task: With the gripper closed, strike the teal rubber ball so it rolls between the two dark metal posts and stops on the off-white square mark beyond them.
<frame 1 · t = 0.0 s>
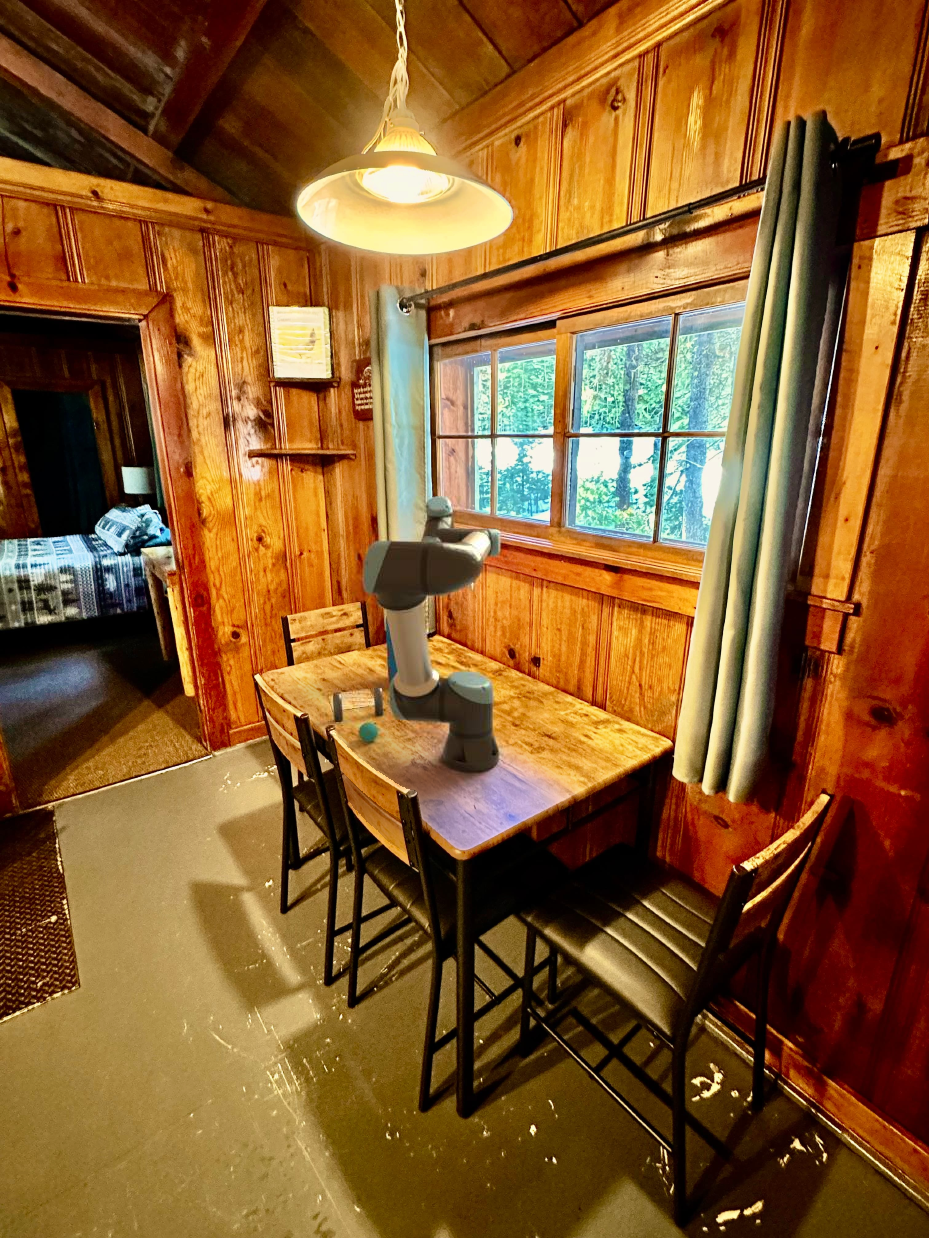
hand: (451, 587, 192), 36 cm above the table, tool tilted 35°, fingers open, 13 cm apart
ball: (368, 732, 163), on the table
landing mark: (351, 700, 191), on the table
post right: (379, 714, 180), on the table
post left: (338, 720, 176), on the table
thermos: (403, 682, 206), on the table
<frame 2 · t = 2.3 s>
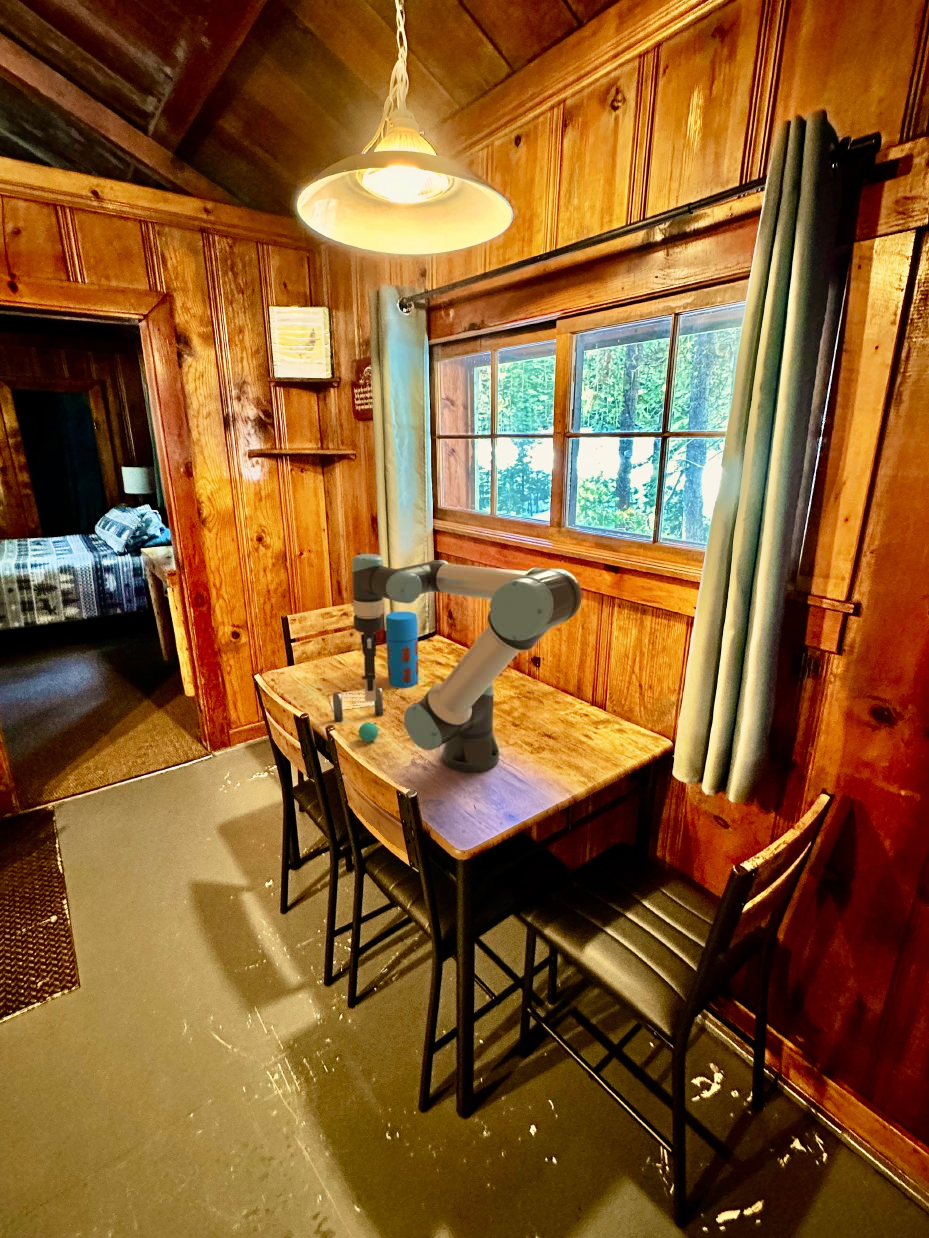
hand: (369, 689, 154), 18 cm above the table, tool pointing down, fingers open, 13 cm apart
nothing on the table moved.
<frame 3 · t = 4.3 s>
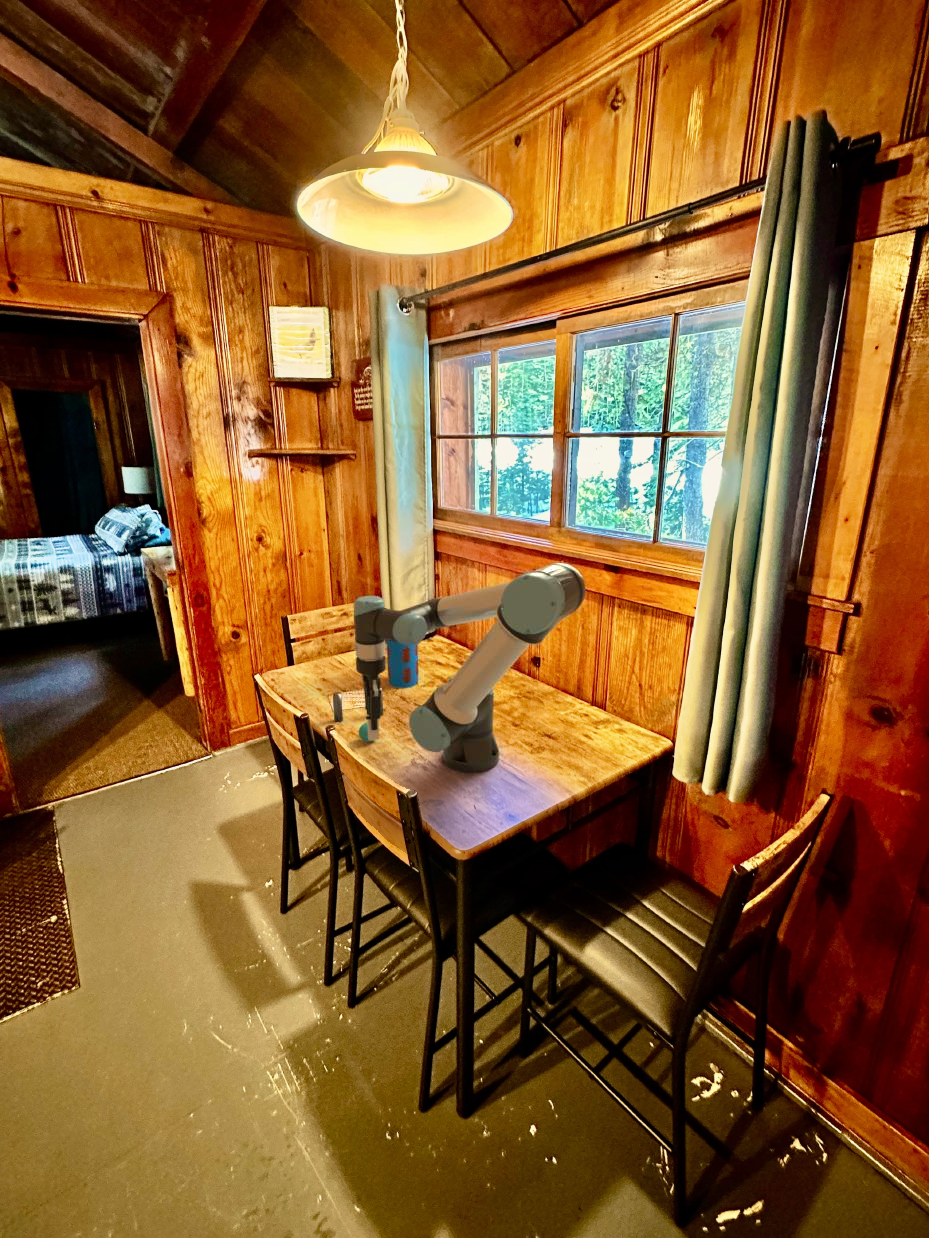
hand: (373, 738, 154), 5 cm above the table, tool pointing down, fingers closed
nothing on the table moved.
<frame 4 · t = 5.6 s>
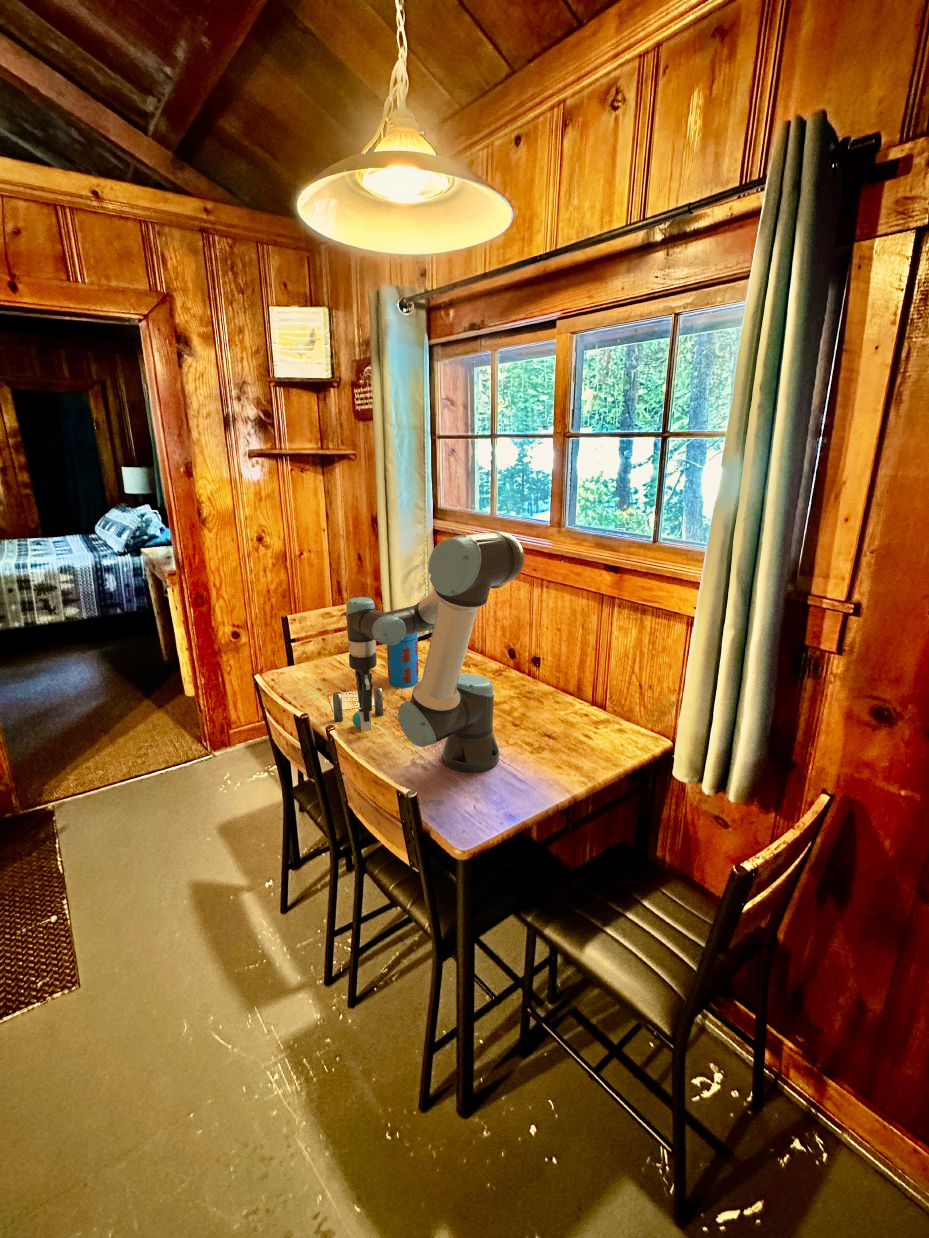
hand: (366, 729, 166), 2 cm above the table, tool pointing down, fingers closed
ball: (361, 719, 171), on the table
everything else where it was.
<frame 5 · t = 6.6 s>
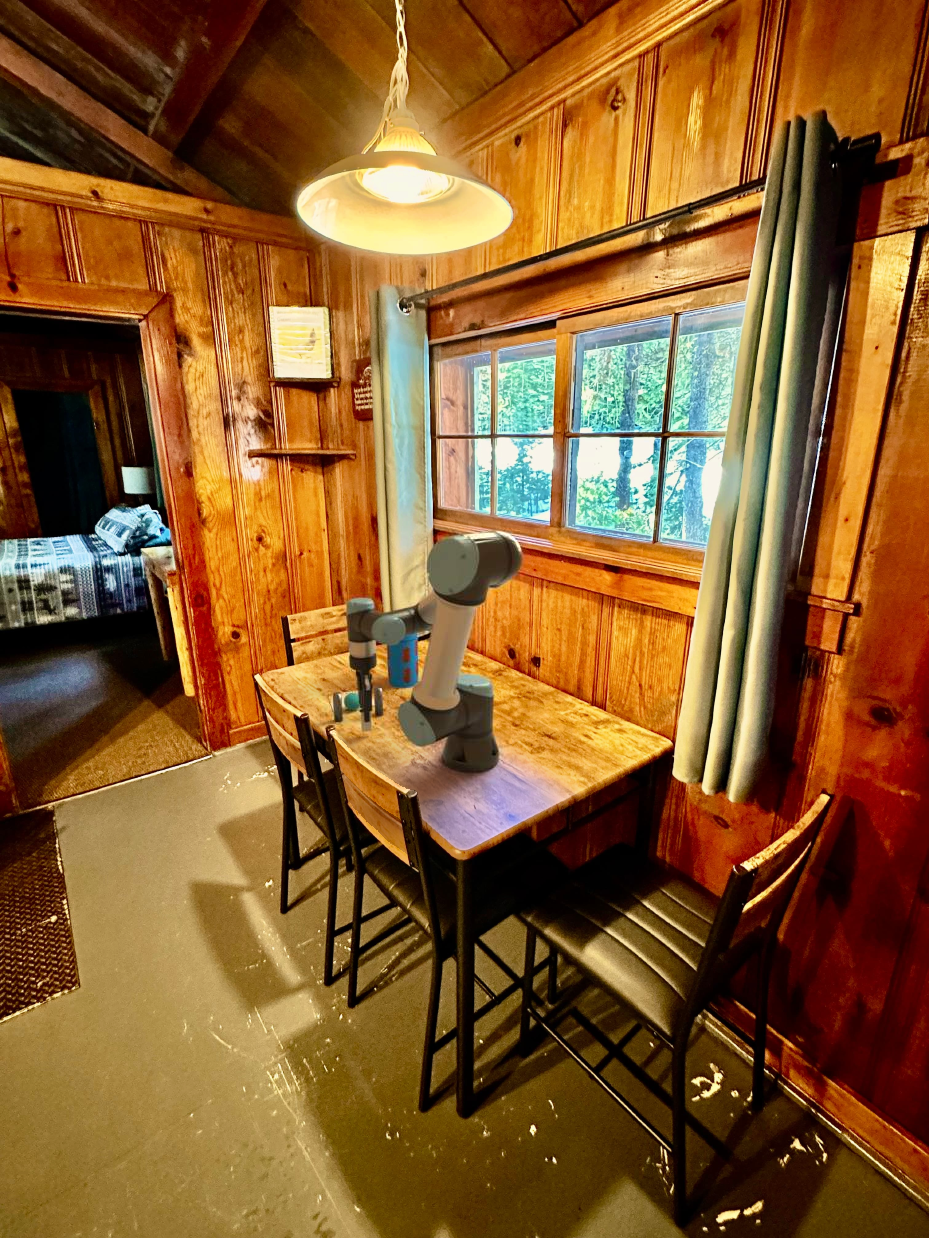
hand: (366, 730, 166), 2 cm above the table, tool pointing down, fingers closed
ball: (352, 701, 183), on the table
everything else where it was.
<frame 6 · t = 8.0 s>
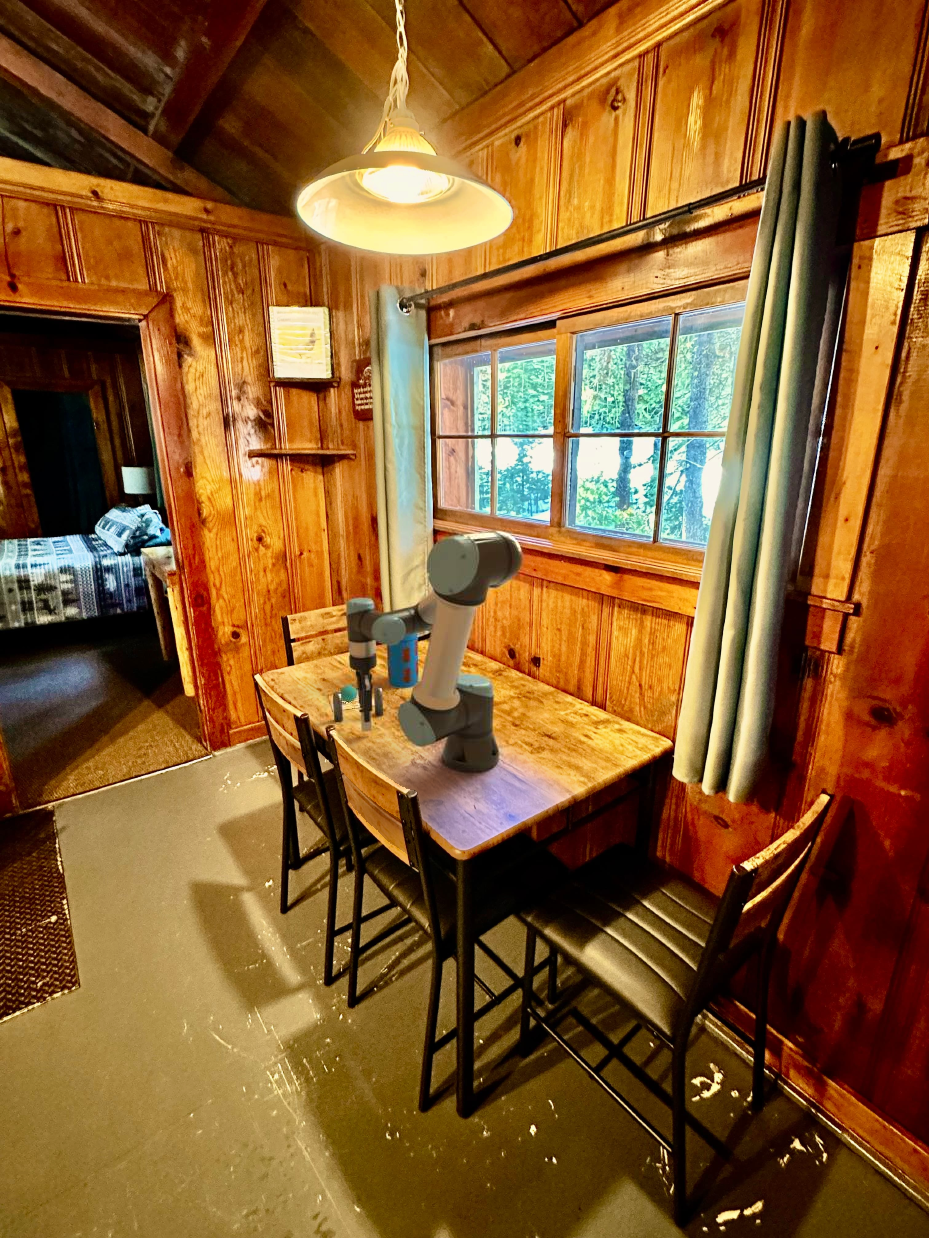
hand: (366, 730, 166), 2 cm above the table, tool pointing down, fingers closed
ball: (348, 693, 189), on the table
everything else where it was.
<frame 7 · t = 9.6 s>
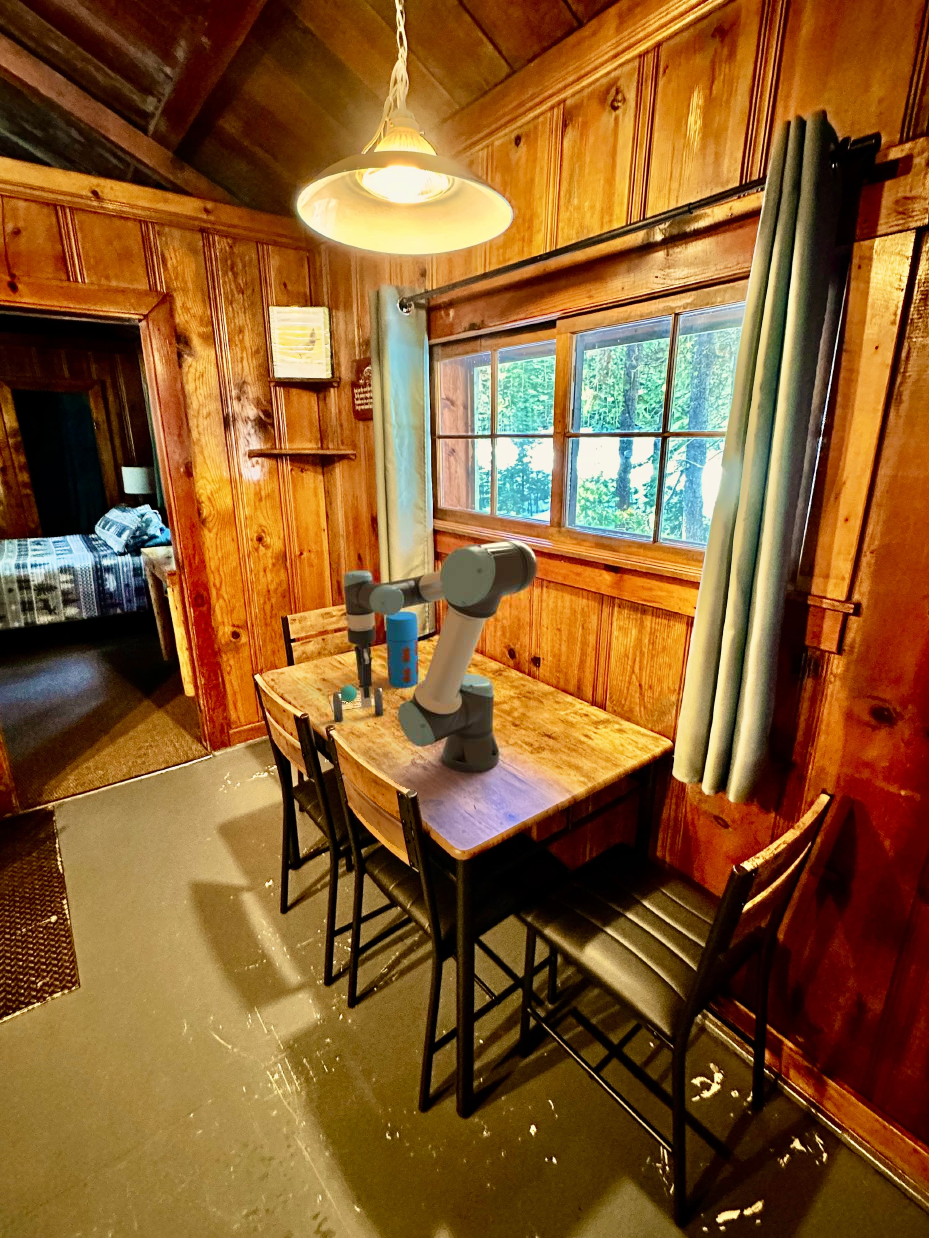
hand: (366, 706, 163), 10 cm above the table, tool pointing down, fingers closed
nothing on the table moved.
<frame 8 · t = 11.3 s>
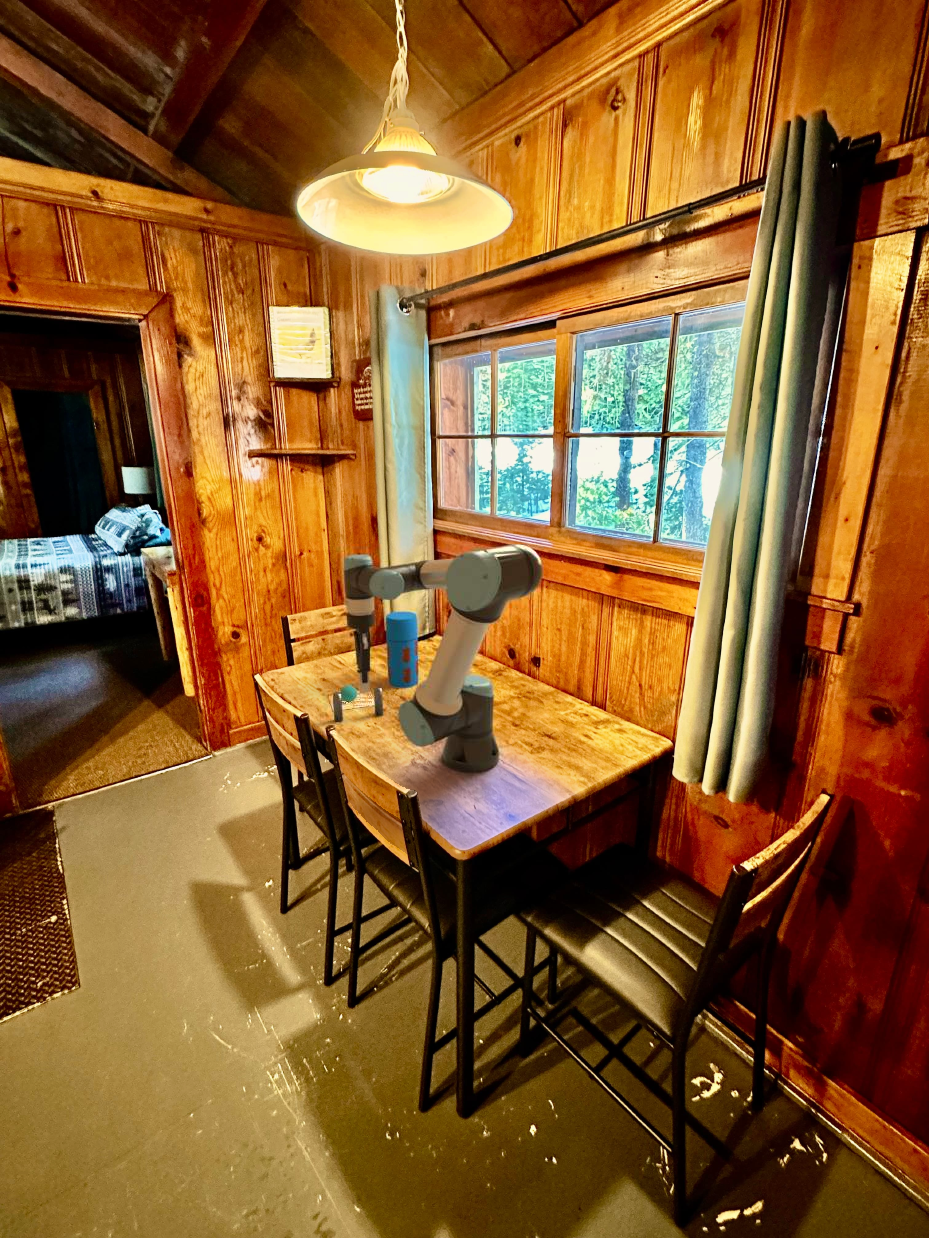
hand: (364, 691, 163), 14 cm above the table, tool pointing down, fingers closed
nothing on the table moved.
at the end: ball 1.1 cm from the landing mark (horizontally); ball never touched post left; ball never touched post right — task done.
